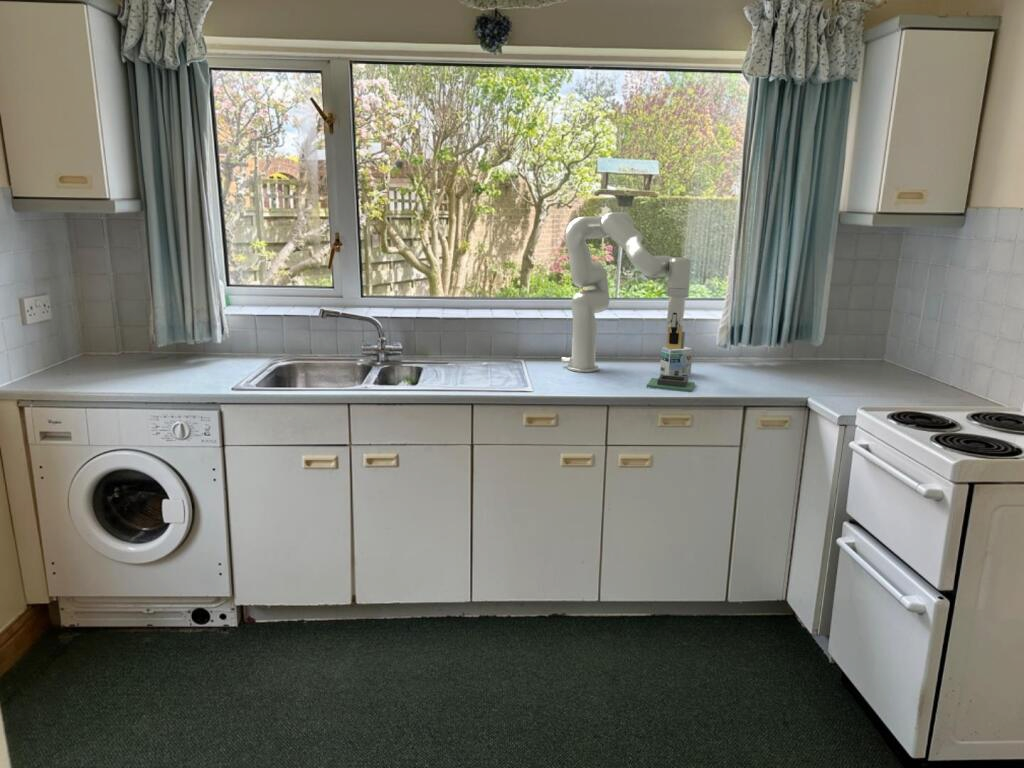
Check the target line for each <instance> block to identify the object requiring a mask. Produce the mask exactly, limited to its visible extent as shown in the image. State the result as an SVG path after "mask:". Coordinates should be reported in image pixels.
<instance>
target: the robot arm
mask: <svg viewBox="0 0 1024 768" xmlns="http://www.w3.org/2000/svg"><path fill="white" fill-rule="evenodd" d="M634 225H635V224H634V219H633V217H632V216H631V215H630V214H629V213H627V212H624V211H623V212H621V211H613V212H612V211H610V212H608V213H606V214H604V215H601V216H600V215H599V216H594V215H593V216H590V215H589V216H579V217H577V218H574V219H573V220H572V221H570V222H569V224H568V226H567V227H566V230H565V244H566V248H567V251H568V253H567V255H568V260H569V269H570V276H571V281H572V284H573V285H574V286H575V287H578V288H587V289H585V290H581V291H578V292H577V293H575V294H574V295H573V296H572V299H571V303H570V307H571V313H572V314H571V315H572V338H571V340H572V341H571V356H570V357H565V356H562V357H561V358H560V359H561V361H560V362H562V363H564V364H566V363H567V364H568V365H567V367H566V368H567V369H568V370H569V371H572V372H578V373H579V372H580V373H593V372H597V371H599V370H600V369H599V368H600V367H599V365H598V364H596V353H597V352H596V350H597V332H598V331H597V328H598V327H597V326H598V325H597V320H596V317H595V314H599V313H602V312H604V311H606V310H607V309H608V307H609V305H610V293H609V292H610V290H609V285H608V283H609V282H608V277H607V272H606V270H605V267H604V266H603V265H602V264H601V263H599V262H597V261H592V257H591V250H590V247H589V244H588V243H587V241H586V240H589V239H590V240H591V239H593V240H594V239H595V240H596V239H606V238H610V239H611V240H612V241H613V242H615V243H616V244H617V245H618V246H620V248H621V249H623V250H624V252H626V253H625V254H626V256H627V259H628V261H629V262H630V263H631V264H632V265H633V267H634V268H636V269H637V270H638V271H639V272H640V273H641V274H643V276H646V277H647V278H662V277H668V279H667V292H666V297H668V307H667V317H666V325H671V328H670V336H669V344H678V338H679V333H678V328H679V325H680V326H681V324H682V323H683V320H684V314H685V306H686V305H685V304H686V299H687V298H689V295H690V293H689V292H690V281H691V267H692V261H691V259H690V258H688V257H673V256H671V255H653V254H651V252H649V251H648V250H646V247H644V246H643V245H642V241H643V238H644V237H643V234H642V233H641V232H640V231H639V230H638V229H637V228H635V227H634ZM676 326H677V327H676Z"/></svg>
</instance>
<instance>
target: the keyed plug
mask: <svg viewBox="0 0 1024 768" xmlns="http://www.w3.org/2000/svg"><path fill="white" fill-rule="evenodd" d="M676 327H677V326H676ZM670 328H671V324H668V325H667V331H666V332H667V333H666V346H665V347H666V348H670V349H684V346H685V340H686V339H685V338H686V331H684V325H681V324H680V325H679V328H678V333H679V338H678V344H669V336H670Z"/></svg>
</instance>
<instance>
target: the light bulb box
mask: <svg viewBox="0 0 1024 768" xmlns="http://www.w3.org/2000/svg"><path fill="white" fill-rule="evenodd" d="M693 352H694V350H693V348H690V347H688V346H686V345H684V349H670V348H666V346H663V347H661V355H660V365H659V374H660V373H661V374H660V375H669V376H680V377H683V376H682V375H690V376H691V374H692V373H691V371H692V363H693V354H694V353H693Z"/></svg>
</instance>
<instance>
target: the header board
mask: <svg viewBox="0 0 1024 768" xmlns="http://www.w3.org/2000/svg"><path fill="white" fill-rule="evenodd" d="M688 380H689V377H687V376H669V375H663V374H660V375H659V377H651V379H650V380H649V381H648V383H647V384H646V388H647V387H650V388H649V389H656V388H659V389H658V390H666V389H668V390H667V391H676V390H677V391H678V392H686V393H687V392H688V393H691V392H692V391H693V389H694V387H695V384H696V382H695V381H688Z"/></svg>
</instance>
